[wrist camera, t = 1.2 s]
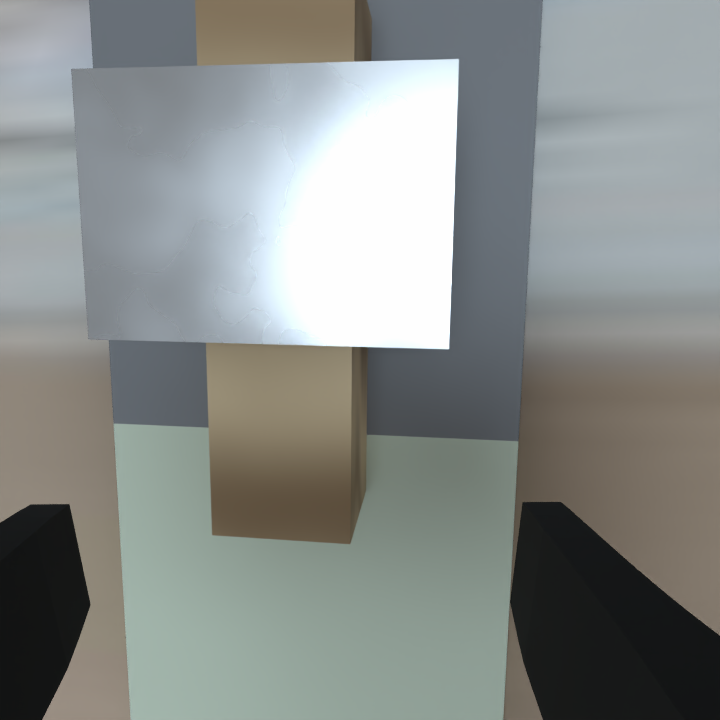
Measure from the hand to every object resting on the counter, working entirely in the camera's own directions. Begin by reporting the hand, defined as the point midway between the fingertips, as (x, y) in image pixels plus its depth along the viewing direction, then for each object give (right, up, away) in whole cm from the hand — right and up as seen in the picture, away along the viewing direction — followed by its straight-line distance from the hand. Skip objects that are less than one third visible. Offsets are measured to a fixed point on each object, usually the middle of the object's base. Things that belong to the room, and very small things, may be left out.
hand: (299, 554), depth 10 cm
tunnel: (-1, +8, +10) cm, 13 cm away
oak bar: (-1, +6, +10) cm, 12 cm away
